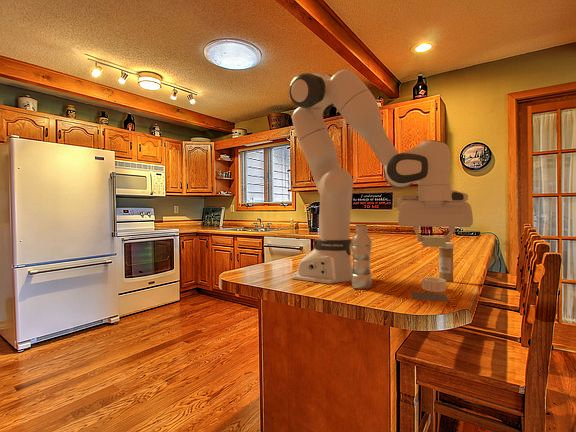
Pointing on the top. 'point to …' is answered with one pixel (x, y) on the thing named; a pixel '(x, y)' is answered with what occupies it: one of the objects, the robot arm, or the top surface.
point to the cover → (434, 241)
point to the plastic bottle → (361, 258)
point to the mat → (429, 296)
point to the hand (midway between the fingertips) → (433, 241)
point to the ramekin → (433, 284)
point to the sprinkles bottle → (446, 262)
